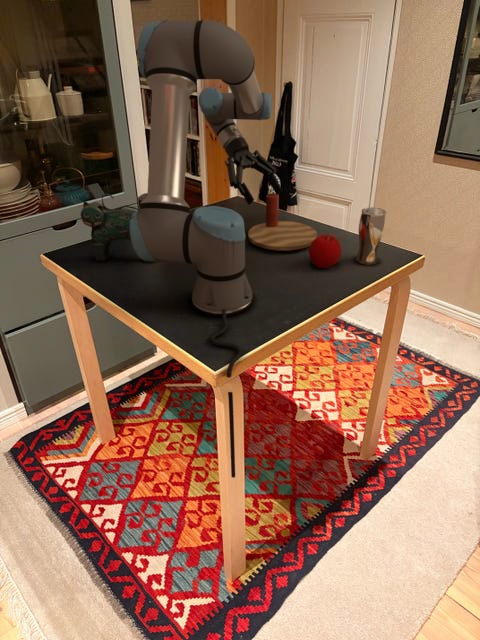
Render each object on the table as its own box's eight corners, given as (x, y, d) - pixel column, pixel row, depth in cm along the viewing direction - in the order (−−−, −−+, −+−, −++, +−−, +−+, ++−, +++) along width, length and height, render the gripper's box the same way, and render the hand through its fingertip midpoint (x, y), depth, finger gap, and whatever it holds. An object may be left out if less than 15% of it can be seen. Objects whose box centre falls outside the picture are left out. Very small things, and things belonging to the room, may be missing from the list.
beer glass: (365, 253, 141) (372, 205, 133) (383, 261, 136) (392, 211, 128) (349, 259, 138) (355, 210, 130) (367, 267, 133) (375, 217, 125)
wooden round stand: (329, 243, 145) (333, 208, 139) (265, 255, 138) (265, 219, 132) (296, 220, 162) (298, 188, 156) (238, 230, 155) (237, 197, 149)
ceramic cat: (89, 262, 139) (75, 195, 128) (97, 253, 144) (84, 189, 133) (153, 264, 137) (145, 197, 126) (159, 255, 142) (152, 190, 131)
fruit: (335, 274, 130) (338, 240, 124) (304, 268, 133) (306, 235, 128) (343, 261, 137) (346, 228, 131) (313, 256, 140) (316, 224, 135)
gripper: (210, 141, 144) (244, 199, 143) (265, 130, 159) (297, 183, 157) (200, 156, 150) (233, 212, 149) (254, 144, 165) (284, 195, 163)
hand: (266, 197), depth 153 cm, fingers open, 13 cm apart
